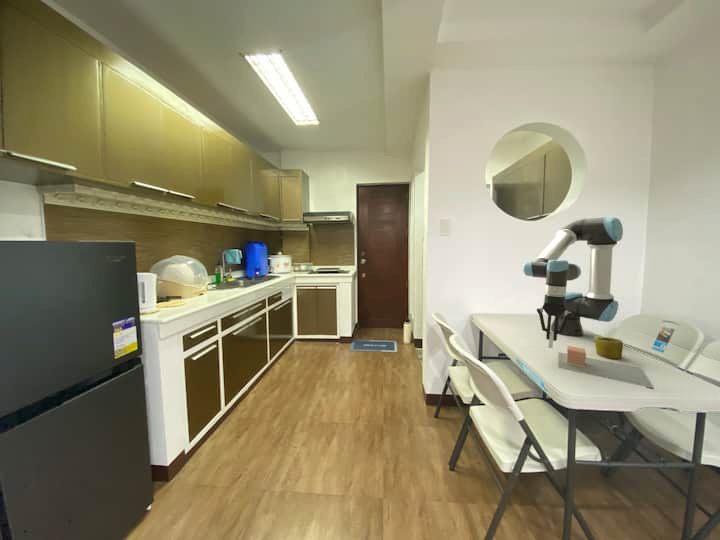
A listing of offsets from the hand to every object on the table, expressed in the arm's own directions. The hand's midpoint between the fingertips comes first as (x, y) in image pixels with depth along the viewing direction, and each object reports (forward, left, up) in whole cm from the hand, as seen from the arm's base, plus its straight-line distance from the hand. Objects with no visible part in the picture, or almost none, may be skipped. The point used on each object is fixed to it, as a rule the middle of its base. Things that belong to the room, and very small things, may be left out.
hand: (550, 347), depth 126 cm
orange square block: (0, +9, -5) cm, 10 cm away
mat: (0, +17, -6) cm, 18 cm away
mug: (-20, +21, -6) cm, 30 cm away
